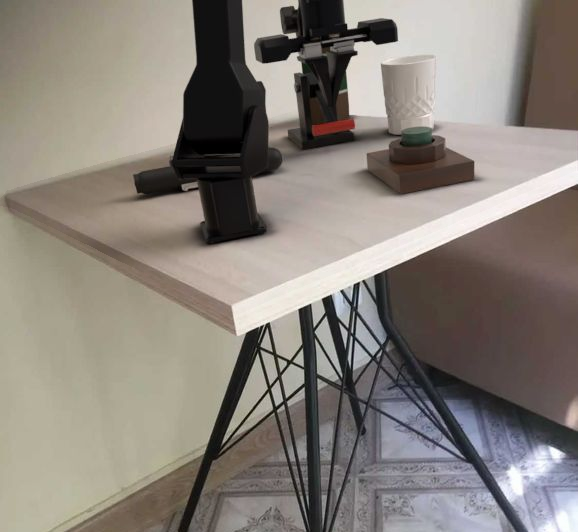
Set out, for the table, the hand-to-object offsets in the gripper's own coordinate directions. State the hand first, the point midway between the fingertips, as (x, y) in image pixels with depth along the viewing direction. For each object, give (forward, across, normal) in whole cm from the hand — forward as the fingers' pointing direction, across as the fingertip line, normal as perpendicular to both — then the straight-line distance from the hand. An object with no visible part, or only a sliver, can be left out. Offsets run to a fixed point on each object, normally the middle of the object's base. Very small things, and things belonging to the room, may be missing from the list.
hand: (331, 106), depth 98 cm
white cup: (+6, -13, -4) cm, 15 cm away
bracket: (+6, 0, -9) cm, 11 cm away
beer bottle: (+6, -5, -22) cm, 23 cm away
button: (+3, -5, +19) cm, 20 cm away
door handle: (+6, +19, 0) cm, 20 cm away
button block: (+6, -5, +19) cm, 21 cm away
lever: (+1, 0, -5) cm, 5 cm away
